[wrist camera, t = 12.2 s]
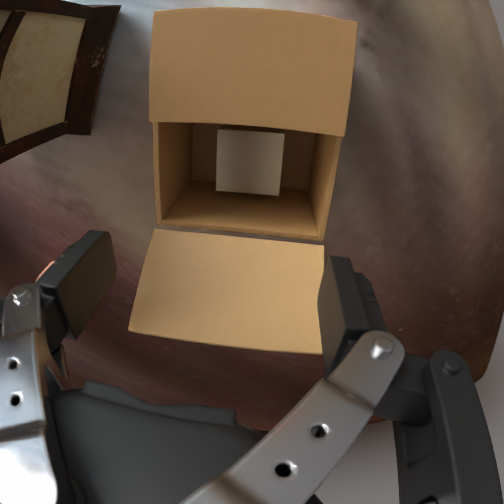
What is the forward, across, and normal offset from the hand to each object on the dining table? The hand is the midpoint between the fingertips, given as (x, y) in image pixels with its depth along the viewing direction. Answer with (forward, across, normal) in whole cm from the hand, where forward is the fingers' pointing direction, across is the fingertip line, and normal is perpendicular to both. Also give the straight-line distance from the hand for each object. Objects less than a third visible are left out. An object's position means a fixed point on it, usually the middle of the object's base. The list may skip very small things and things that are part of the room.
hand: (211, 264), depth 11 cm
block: (+19, 0, 0) cm, 19 cm away
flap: (+6, 0, +6) cm, 8 cm away
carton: (+19, 0, -3) cm, 19 cm away
